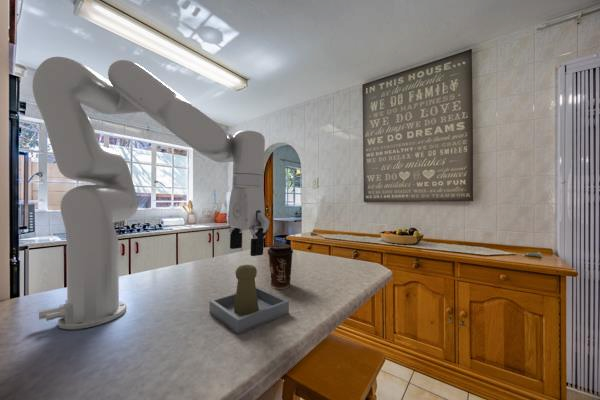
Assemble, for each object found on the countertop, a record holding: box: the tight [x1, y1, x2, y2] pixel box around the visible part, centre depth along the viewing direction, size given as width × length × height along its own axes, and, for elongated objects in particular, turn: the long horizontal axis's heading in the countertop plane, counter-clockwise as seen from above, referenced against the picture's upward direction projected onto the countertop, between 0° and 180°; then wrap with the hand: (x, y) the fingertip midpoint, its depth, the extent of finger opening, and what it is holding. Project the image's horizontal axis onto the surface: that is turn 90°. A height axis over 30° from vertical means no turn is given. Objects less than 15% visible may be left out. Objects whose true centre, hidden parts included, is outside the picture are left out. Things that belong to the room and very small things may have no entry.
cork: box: [234, 264, 259, 315], centre depth 62 cm, size 6×6×11 cm
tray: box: [209, 286, 290, 335], centre depth 62 cm, size 14×14×3 cm
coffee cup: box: [267, 243, 294, 290], centre depth 81 cm, size 9×8×13 cm
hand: (245, 251), depth 62 cm, fingers open, 9 cm apart
